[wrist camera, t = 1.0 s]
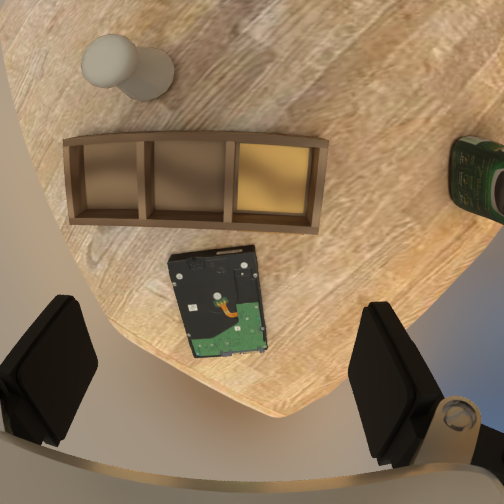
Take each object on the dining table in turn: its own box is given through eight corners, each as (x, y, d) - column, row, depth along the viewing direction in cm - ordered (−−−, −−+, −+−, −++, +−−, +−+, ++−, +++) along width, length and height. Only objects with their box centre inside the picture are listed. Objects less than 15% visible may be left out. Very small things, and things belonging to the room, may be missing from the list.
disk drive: (170, 252, 38) (196, 347, 44) (164, 262, 36) (193, 360, 41) (254, 241, 38) (269, 340, 43) (254, 250, 35) (269, 353, 41)
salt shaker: (130, 105, 30) (69, 104, 18) (127, 58, 28) (67, 35, 16) (181, 97, 30) (141, 87, 18) (178, 48, 28) (138, 13, 16)
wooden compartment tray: (80, 136, 31) (62, 139, 28) (320, 137, 32) (328, 140, 28) (85, 216, 35) (70, 227, 32) (310, 224, 36) (317, 237, 32)
